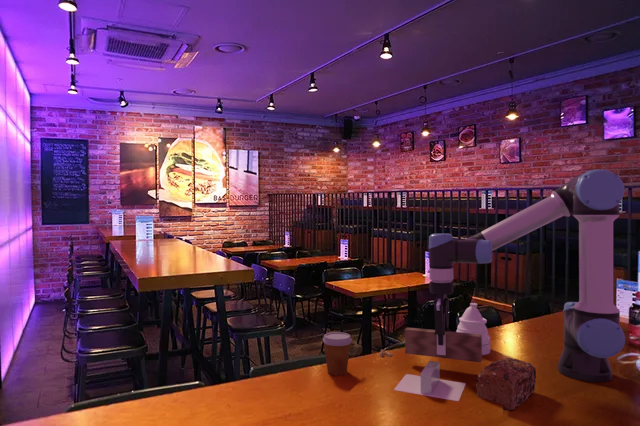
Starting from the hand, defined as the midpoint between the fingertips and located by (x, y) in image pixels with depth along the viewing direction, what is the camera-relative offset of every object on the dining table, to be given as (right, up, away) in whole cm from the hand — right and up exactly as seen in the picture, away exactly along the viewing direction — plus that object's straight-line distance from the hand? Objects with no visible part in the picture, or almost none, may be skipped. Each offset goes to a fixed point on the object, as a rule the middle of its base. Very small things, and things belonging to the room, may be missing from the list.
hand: (442, 352), depth 146 cm
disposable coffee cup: (-34, -7, +1) cm, 35 cm away
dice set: (-16, -7, +18) cm, 25 cm away
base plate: (-8, -7, -15) cm, 18 cm away
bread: (+13, -7, -19) cm, 24 cm away
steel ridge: (-8, -5, -15) cm, 18 cm away
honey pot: (+18, -7, +25) cm, 31 cm away
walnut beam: (0, -1, 0) cm, 1 cm away
